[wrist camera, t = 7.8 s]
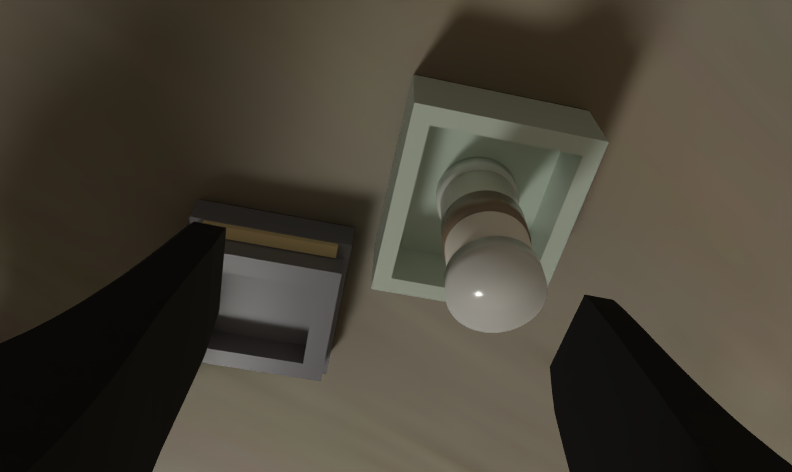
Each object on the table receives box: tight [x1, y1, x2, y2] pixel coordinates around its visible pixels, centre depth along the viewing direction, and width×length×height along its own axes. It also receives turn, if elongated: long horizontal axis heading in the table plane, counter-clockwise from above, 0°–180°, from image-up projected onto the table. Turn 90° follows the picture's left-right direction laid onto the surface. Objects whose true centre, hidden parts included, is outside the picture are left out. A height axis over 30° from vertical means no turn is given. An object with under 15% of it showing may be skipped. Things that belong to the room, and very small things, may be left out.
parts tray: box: [371, 75, 609, 302], centre depth 22 cm, size 7×6×2 cm
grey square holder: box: [189, 200, 354, 381], centre depth 24 cm, size 7×6×2 cm
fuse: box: [436, 157, 548, 333], centre depth 20 cm, size 3×3×6 cm
